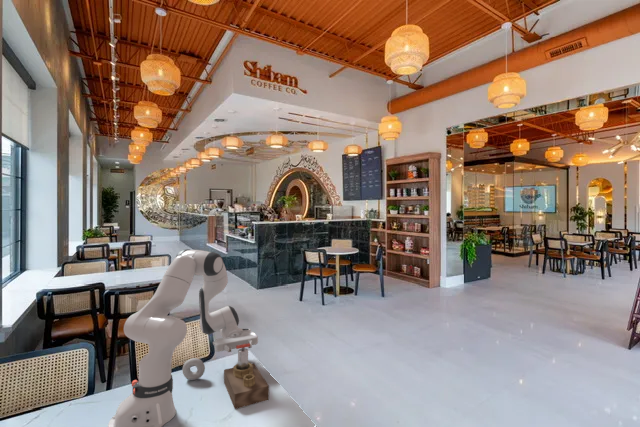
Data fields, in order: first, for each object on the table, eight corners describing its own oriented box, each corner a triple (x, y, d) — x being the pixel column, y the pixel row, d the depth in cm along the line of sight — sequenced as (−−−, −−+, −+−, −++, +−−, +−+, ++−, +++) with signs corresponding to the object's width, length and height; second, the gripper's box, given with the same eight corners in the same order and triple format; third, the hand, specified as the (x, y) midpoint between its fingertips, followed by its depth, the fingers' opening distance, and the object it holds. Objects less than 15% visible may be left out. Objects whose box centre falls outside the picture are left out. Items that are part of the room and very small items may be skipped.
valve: (237, 376, 142) (237, 348, 142) (235, 371, 146) (235, 344, 146) (251, 373, 145) (251, 345, 145) (248, 368, 149) (248, 341, 149)
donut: (181, 382, 149) (181, 360, 149) (183, 378, 152) (183, 357, 152) (204, 381, 150) (204, 359, 150) (205, 377, 154) (205, 356, 154)
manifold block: (234, 409, 129) (234, 386, 129) (224, 382, 149) (224, 363, 149) (268, 399, 136) (268, 378, 136) (254, 375, 155) (254, 356, 155)
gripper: (211, 335, 159) (216, 345, 146) (253, 328, 168) (261, 337, 156) (212, 347, 159) (216, 359, 147) (253, 340, 168) (261, 350, 156)
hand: (240, 348), depth 151 cm, fingers open, 8 cm apart
